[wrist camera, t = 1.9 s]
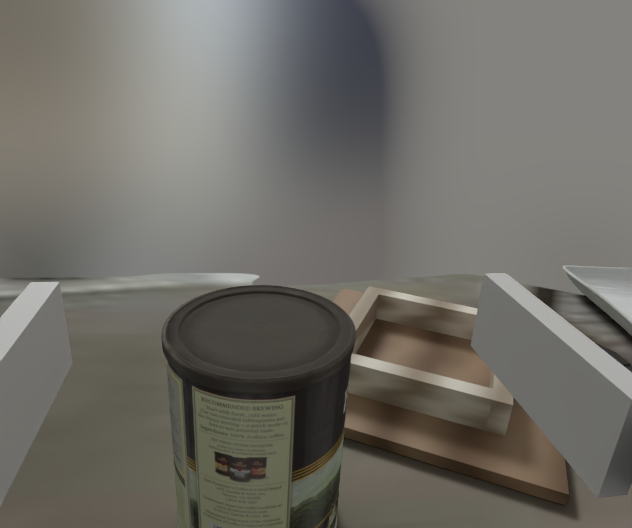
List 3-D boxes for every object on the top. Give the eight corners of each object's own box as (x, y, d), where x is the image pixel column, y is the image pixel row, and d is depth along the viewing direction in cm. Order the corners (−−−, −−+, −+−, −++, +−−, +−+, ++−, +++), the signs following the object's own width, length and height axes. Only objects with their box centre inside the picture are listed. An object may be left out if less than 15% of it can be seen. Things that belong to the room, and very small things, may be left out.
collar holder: (253, 409, 42) (253, 369, 40) (341, 295, 63) (344, 266, 61) (565, 505, 34) (580, 460, 33) (547, 339, 55) (556, 307, 54)
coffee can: (306, 442, 39) (317, 276, 33) (363, 561, 30) (390, 361, 24) (168, 473, 35) (154, 292, 30) (186, 618, 26) (171, 398, 21)
